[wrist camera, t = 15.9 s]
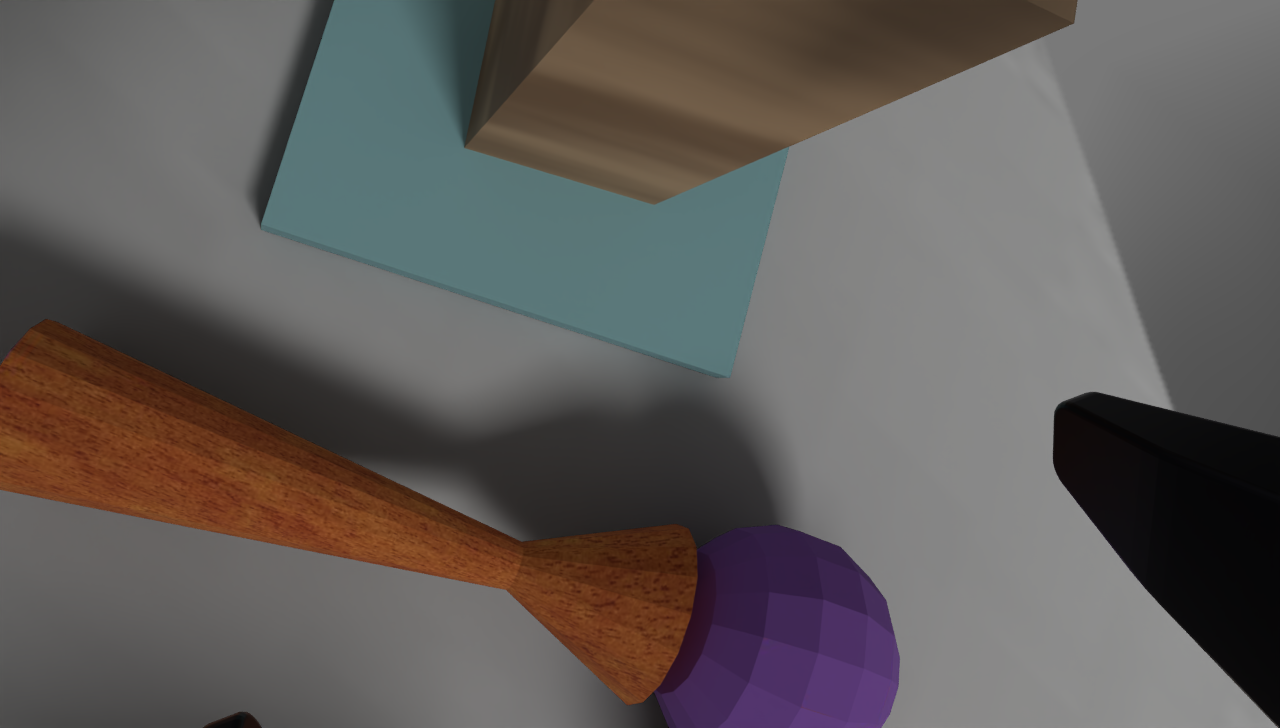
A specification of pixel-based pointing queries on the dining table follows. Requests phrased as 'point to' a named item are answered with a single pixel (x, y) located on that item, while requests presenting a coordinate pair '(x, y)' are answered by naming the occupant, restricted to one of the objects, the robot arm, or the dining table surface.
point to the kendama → (465, 544)
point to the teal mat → (505, 197)
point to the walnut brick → (714, 78)
